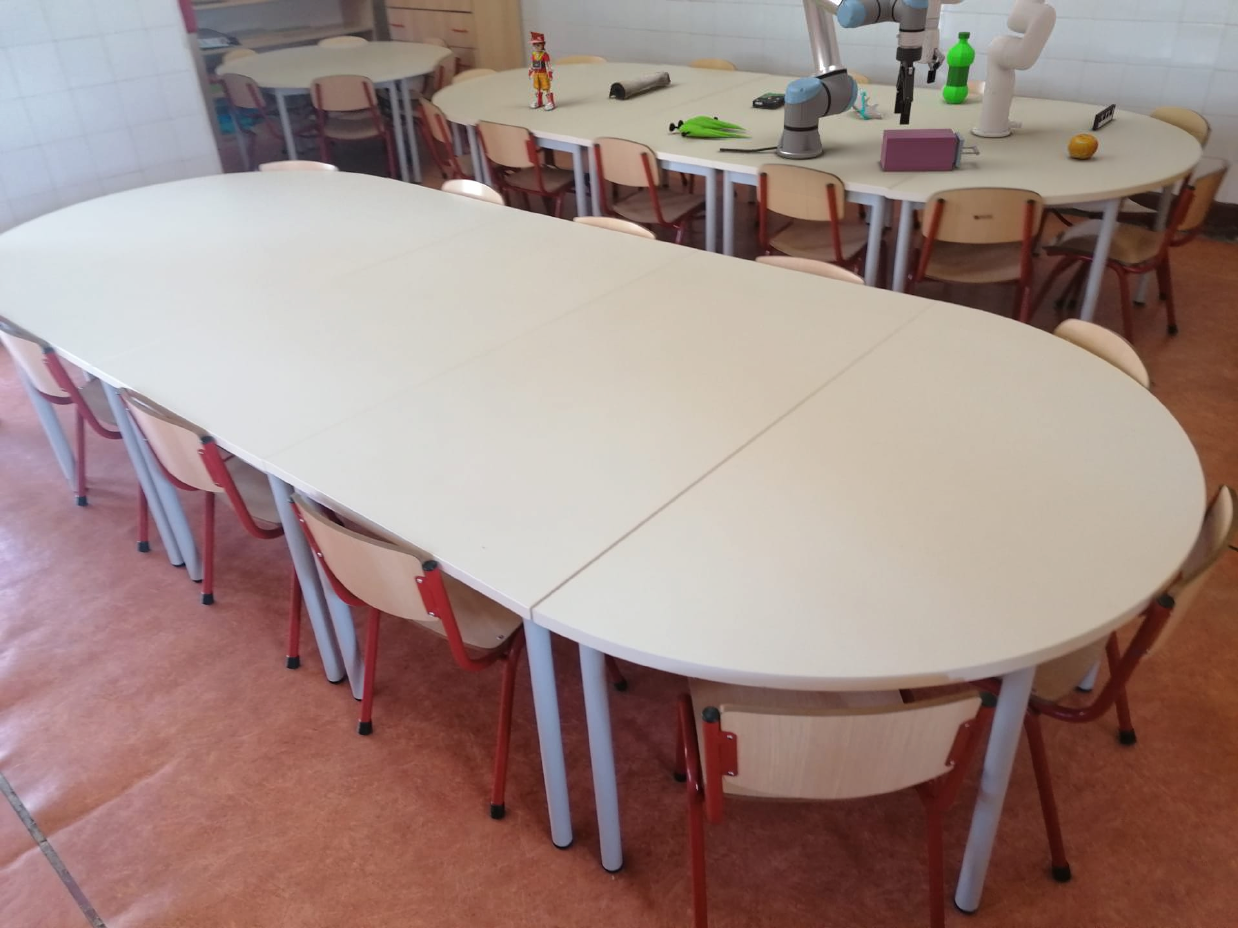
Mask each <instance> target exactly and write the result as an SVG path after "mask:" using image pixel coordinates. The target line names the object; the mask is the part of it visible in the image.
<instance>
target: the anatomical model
mask: <svg viewBox="0 0 1238 928" xmlns="http://www.w3.org/2000/svg"><path fill="white" fill-rule="evenodd" d="M866 96H867V93H866V91H864V90H863V89H862V88H858V95H857V99H856V101H855V103H854V105H853V107H852V109H853V110H854V111H858V112H859V113H860V116H861V118H862V119H864V120H868V119H870V118H881V117H882V116H884V115H883V113H882V112H877V111H876V109H877V108H878V106H880V103H878V102H876V103H873V104H871V105H869V104H868V102H869V100H870V98H871V97H870V96H868V97H866Z"/></svg>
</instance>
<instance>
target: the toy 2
mask: <svg viewBox="0 0 1238 928" xmlns="http://www.w3.org/2000/svg"><path fill="white" fill-rule="evenodd" d="M676 129H677V130H678V131H679V133H680V134H681V137H682V138H686V137H707V138H732V137H733V138H748V136H746V135H743V134H738V133H732V132H727V131H724V130H726V129H727V130H728V129H731V130H741V131H747V129H746V128H743V127H742V126H739V125H736V124H733V123H730V122H726V121H722V120H719V118H718V117H717V116H714V117H713V118H711V117H709V116H705V115H704V116H703V115H701V116H696V117H694V118H690V119H687V120H685V121H683V120H682V119H679V120H678V122H677V125H676V124H675V123H674V122H670V124H669V127H668V131H669V132H671V133H672V132H674V131H675V130H676Z"/></svg>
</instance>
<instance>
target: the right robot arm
mask: <svg viewBox="0 0 1238 928" xmlns="http://www.w3.org/2000/svg"><path fill="white" fill-rule="evenodd" d="M964 1H965V0H929V2H928V3H929V6H928V10H927V17H926V24H925V35H924V42H923V45H921V46H922V48H923V49H922V57H921V60H919V61H915V62H914V63H916V64H922V65H927V66H928V67H929V69H928V71H927V77H926V84H933V83H935V82H936V76H937V70H939V69H940V67H941V66H942V65H943V63H944V61H945V59H946V55H944V53H942V52H941V51H940V37H941V35H940V34H941V33H940V28H939V25H940V17H941V12H942V11H941V10H942V5H958V4H960V3H962V2H964ZM1045 2H1046V0H1015V2H1014V3H1013V6H1012V8H1011V10H1010V13H1009V14H1008V17H1007V21H1006V24H1007V28H1008V29H1009V30H1010V31H1012V32H1013V33H1018V34H1022V35H1023V37H1020V36H1016V35H1011V34H1001V35H997V36H996V37H995V38H993V39H992V40H991V41H990V44H989V45H988V48H987V51H986V52H987V53H986V76H985V81H984V82H985V83H984V88H983V96H982V100H981V106H980V110H979V111H980V112H979V117H978V123H977V126H974V127H973V128H972V134H974V135H976V136H979V137H986V138H1002V137H1007V136H1009V135H1010V134H1011V130H1012V129H1021V128H1022V123H1023V122H1022V121H1021V122H1020V121H1019V122H1017V121H1015V120H1013V121H1010V119H1009V117H1010V110H1011V106H1012V100H1013V95H1014V91H1015V90H1014V89H1015V85H1016V71H1022V72H1023V71H1027V70H1029V69H1031V68H1032V67H1034V65H1035V64H1036V62H1037V61H1038V59H1039V57H1040V56H1041V54H1042V52H1043V50H1044V47H1045V46H1046V44H1047V42H1048V40H1049V38H1050V36H1051V34H1052V33H1053V30H1054V28H1055V25H1056V22H1057V11H1056V9H1055V8H1054V7H1053V6H1052V5H1051V4H1048V3H1045Z"/></svg>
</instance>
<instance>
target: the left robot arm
mask: <svg viewBox="0 0 1238 928" xmlns="http://www.w3.org/2000/svg"><path fill="white" fill-rule="evenodd" d="M928 2H929V0H802V3H803V4H802V5H803V9H804V15H805V20H806V25H807V32H808V37H809V42H810V49H811V53H812V58H813V65H814V70H815V72H814V74H813V76H812V77H805V78H803V77H802V78H798V79H795V80H791V82H789V83H788V84H787V86H786V87H785V93H784V94H785V104H784V111H783V113H784V115H783V129H782V133H781V136H780V139H779V141H778V144H777V146H769V147H762V148H755V149H743V148H723V147H720V148H719V152H735V153H759V152H765V151H773V150H774V151H775V150H776V154H777V155H778V156H779V157H782V158H785V159H790V160H791V159H792V160H806V159H813V158H817V157H819V156H821V155H822V154H823V144H822V140H821V134H820V131H819V123H820V119H823V118H825V117H830V116H834V115H841V114H843V113H846V112H848V111H849V110H851V109H853V105H854V103H855V101H856V99H857V95H858V89H859V86H858V82H857V80H856V78H854V77H853V76H852V75H850V74H849V73H848V68H847V67H846V66H844V65H843V64H842V61H841V55H840V50H839V44H838V43H839V42H838V38H837V32H836V27H835V20H834V16H835V17H836V19H837V22H838V24H839V26H840V27H841V28H844V29H857V28H860V27H865V26H869V25H876V24H880V23H888V22H890V23H896V24H899V26H898V34H896V37H895V38H897V47H896V51H895V53H896V54H895V60H896V61H898V62H900V63H899V70H898V75H897V80H896V85H895V88H896V90H895V93H896V94H895V101H894V110H893V114H895V115H899V116H900V117H899V125H901V126H904V125H905V126H907V125H908V126H909V125H910V117H911V108H912V103H913V102H914V89H915V74H916V67H915V66H914V63H916V62H915V61H919V60H921V57H922V49H923V48H922V46H921V45H923V42H924V35H925V24H926V17H927V10H928V6H929V3H928Z"/></svg>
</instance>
